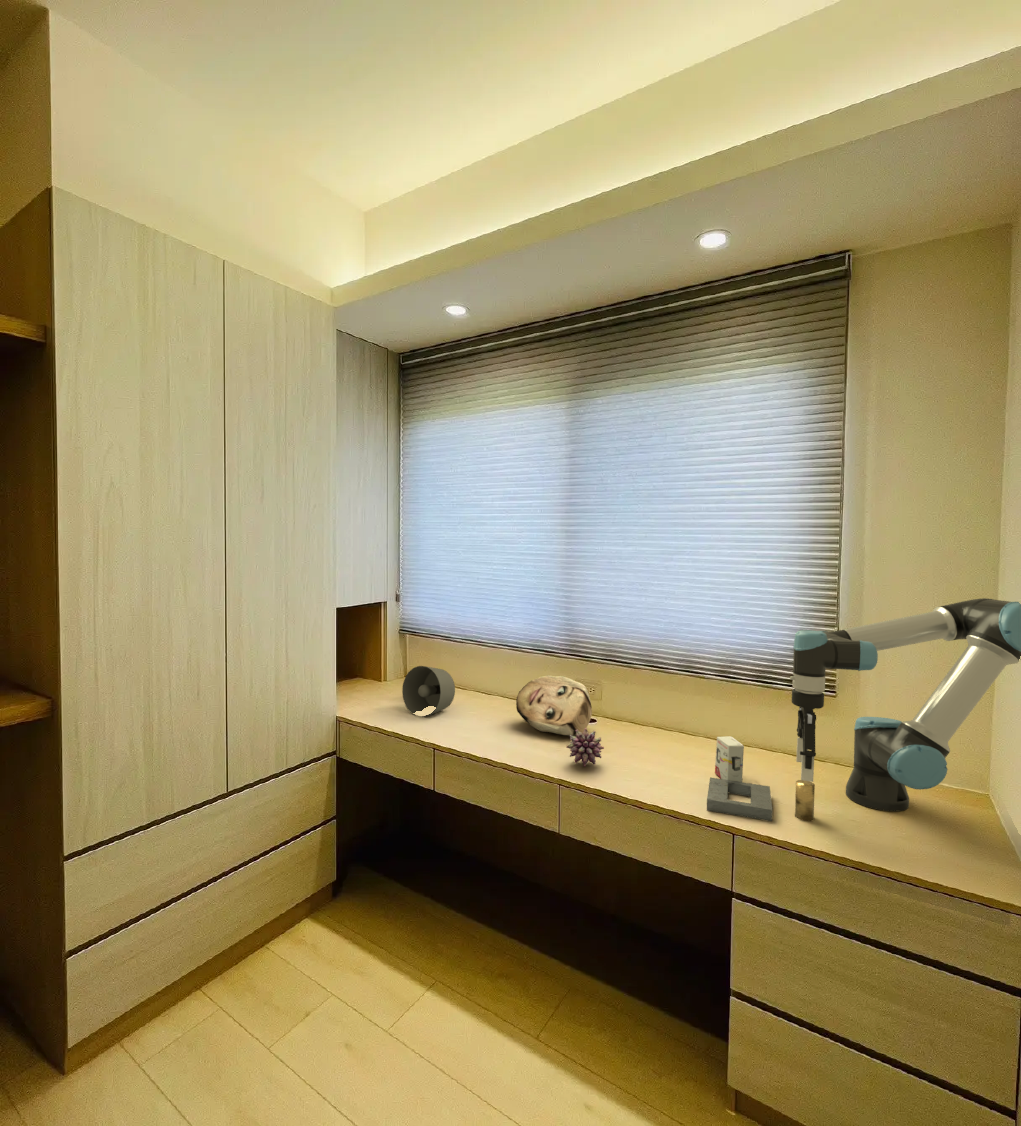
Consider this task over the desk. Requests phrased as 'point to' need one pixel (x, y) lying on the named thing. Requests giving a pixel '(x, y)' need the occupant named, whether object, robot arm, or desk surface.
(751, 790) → the frame
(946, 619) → the robot arm
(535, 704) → the head sculpture
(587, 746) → the purple spiky ball
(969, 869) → the desk surface
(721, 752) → the ink box
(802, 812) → the cylinder
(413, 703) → the light fixture
